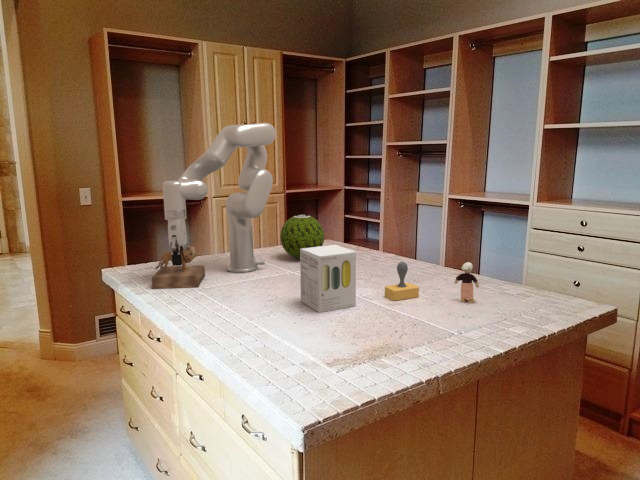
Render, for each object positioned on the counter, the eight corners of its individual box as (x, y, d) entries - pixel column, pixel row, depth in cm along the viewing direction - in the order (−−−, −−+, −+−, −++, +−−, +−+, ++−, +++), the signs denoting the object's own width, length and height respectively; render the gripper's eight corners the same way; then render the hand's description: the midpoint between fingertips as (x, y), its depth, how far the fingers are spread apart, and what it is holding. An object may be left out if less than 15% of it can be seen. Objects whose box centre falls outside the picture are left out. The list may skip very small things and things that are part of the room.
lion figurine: (195, 267, 178) (195, 244, 176) (196, 271, 173) (196, 248, 171) (155, 268, 174) (154, 245, 172) (154, 272, 169) (153, 248, 167)
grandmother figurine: (478, 300, 150) (480, 261, 147) (478, 304, 146) (480, 264, 144) (453, 298, 152) (455, 260, 150) (452, 301, 149) (454, 262, 146)
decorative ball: (324, 263, 202) (324, 217, 199) (278, 263, 203) (277, 217, 199) (324, 253, 222) (324, 211, 218) (282, 253, 222) (281, 212, 218)
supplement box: (318, 313, 139) (318, 256, 136) (300, 301, 151) (299, 248, 148) (356, 306, 145) (356, 251, 142) (335, 295, 157) (335, 244, 154)
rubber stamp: (408, 292, 159) (409, 258, 157) (419, 297, 154) (420, 261, 152) (384, 296, 155) (384, 261, 153) (393, 301, 150) (394, 265, 147)
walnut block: (205, 277, 183) (204, 265, 182) (198, 289, 167) (197, 275, 167) (163, 279, 182) (162, 266, 181) (152, 290, 166) (151, 277, 165)
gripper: (181, 217, 162) (184, 268, 165) (190, 211, 179) (193, 257, 182) (159, 218, 161) (163, 269, 164) (170, 212, 178) (173, 258, 181)
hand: (178, 262), depth 173 cm, fingers open, 5 cm apart
